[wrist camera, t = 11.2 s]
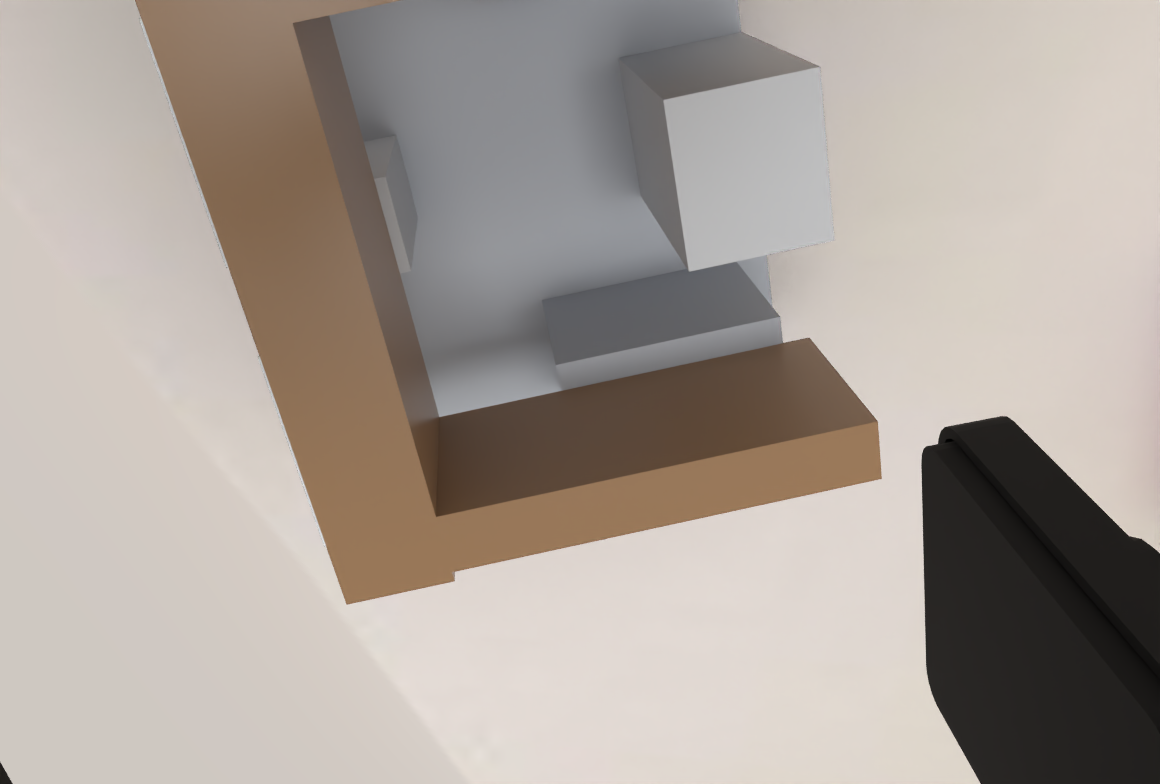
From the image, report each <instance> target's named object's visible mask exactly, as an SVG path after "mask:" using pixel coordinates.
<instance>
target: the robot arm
mask: <svg viewBox="0 0 1160 784" xmlns="http://www.w3.org/2000/svg"><path fill="white" fill-rule="evenodd" d="M922 503H923V546H924V589H925V631H926V667H927V675H928V680H929V684H930V688H931V691H932V694H933V697H934V700H935V702H936V704H937V706H938V708H939V710H940V712H941V714H942V715H943V717H944V719H945V721H946V722H947V724H948V726H949V728H950V730H951V731H952V733H953V735H954V737H955V738H956V740H957V742H958V744H959V746H960V747H961V749H962V751H963V753H964V754H965V756H966V758H967V760H968V762H969V763H970V765H971V767H972V769H973V770H974V772H975V774H976V776H977V778H978V779H979V781H980V783H981V784H1160V553H1159V552H1158V551H1156V550H1155V549H1154V548H1153V547H1152V546H1150V545H1149V544H1147V543H1146V542H1145V541H1143V540H1142V539H1139V538H1134V537H1130V536H1128V535H1127V534H1126V533H1125V532H1124V531H1123V530H1122V529H1121V528H1120V527H1119V526H1118V525H1117V524H1116V523H1115V522H1114V521H1113V520H1112V519H1111V518H1110V517H1109V516H1108V515H1107V514H1106V513H1105V512H1104V511H1103V510H1102V509H1101V508H1100V507H1099V506H1098V505H1097V504H1096V503H1095V502H1094V501H1093V500H1092V499H1091V498H1090V497H1089V496H1088V495H1087V494H1086V493H1085V492H1084V491H1083V490H1082V489H1081V488H1080V487H1079V486H1078V485H1077V484H1076V483H1075V482H1074V481H1073V480H1072V479H1071V478H1070V477H1069V476H1068V475H1067V474H1066V473H1065V472H1064V471H1063V470H1062V469H1061V468H1060V467H1059V466H1058V465H1057V464H1056V463H1055V462H1054V461H1053V460H1052V459H1051V458H1050V457H1049V456H1048V455H1047V454H1046V453H1045V452H1044V451H1043V450H1042V449H1041V448H1040V447H1039V446H1038V445H1037V444H1036V443H1035V442H1034V441H1033V440H1032V439H1031V438H1030V437H1029V436H1028V435H1027V434H1026V433H1025V432H1024V431H1023V430H1022V429H1021V428H1020V427H1019V426H1018V425H1017V424H1016V423H1015V422H1014V421H1013V420H1011V419H1010V418H1008V417H1005V416H1000V417H995V418H990V419H985V420H980V421H974V422H969V423H964V424H959V425H954V426H948V427H945V428H944V429H943V430H942V431H941V433H940V436H939V441H938V444H937V445H932V446H926V447H925V448H924V450H923V453H922ZM0 784H12V782H11V780H10V778H9V777H8V775H7V773H6V771H5V770H4V768H3V766H2V764H1V763H0Z"/></svg>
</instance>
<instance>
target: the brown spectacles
mask: <svg viewBox="0 0 1160 784" xmlns="http://www.w3.org/2000/svg"><path fill="white" fill-rule="evenodd" d="M396 1H401V0H135V2H136V4H137V7H138V10H139V13H140V16H141V18H139V21H140V24H141V27H142V29H143V32H144V35H145V38H146V41H147V44H148V46H149V49H150V52H151V55H152V58H153V61H154V64H155V66H156V69H157V72H158V75H159V78H160V81H161V84H162V86H163V89H164V92H165V95H166V98H167V101H168V103H169V106H170V109H171V112H172V115H173V118H174V121H175V123H176V126H177V129H178V132H179V135H180V138H181V140H182V143H183V146H184V149H185V152H186V155H187V158H188V160H189V163H190V166H191V169H192V172H193V175H194V177H195V180H196V183H197V186H198V189H199V192H200V195H201V197H202V200H203V203H204V206H205V209H206V212H207V214H208V217H209V220H210V223H211V226H212V229H213V232H214V234H215V237H216V240H217V243H218V246H219V249H220V251H221V254H222V257H223V260H224V263H225V266H226V268H228V267H229V270H230V273H231V276H232V279H233V281H234V284H235V287H236V290H237V293H238V296H239V299H240V301H241V304H242V307H243V310H244V313H245V316H246V319H247V321H248V324H249V327H250V330H251V333H252V336H253V339H254V341H255V344H256V347H257V350H258V353H259V356H258V360H259V362H260V365H261V368H262V371H263V374H264V377H265V380H266V382H267V385H268V388H269V391H270V394H271V397H272V399H273V402H274V405H275V408H276V411H277V414H278V417H279V419H280V422H281V425H282V428H283V431H284V434H285V436H286V439H287V442H288V445H289V448H290V451H291V454H292V456H293V459H294V462H295V465H296V468H297V471H298V473H299V476H300V479H301V482H302V485H303V488H304V491H305V493H306V496H307V499H308V502H309V505H310V508H311V510H312V513H313V516H314V519H315V522H316V525H317V528H318V530H319V533H320V536H321V539H322V542H323V545H324V547H325V546H326V547H327V550H328V553H329V556H330V558H331V561H332V564H333V567H334V570H335V573H336V576H337V578H338V581H339V584H340V587H341V590H342V593H343V595H344V598H345V601H346V604H352V603H356V602H361V601H365V600H370V599H375V598H379V597H384V596H388V595H393V594H398V593H402V592H407V591H411V590H416V589H421V588H425V587H430V586H434V585H439V584H444V583H448V582H453V581H455V571H460V570H464V569H469V568H474V567H478V566H483V565H487V564H492V563H497V562H501V561H506V560H510V559H515V558H520V557H524V556H529V555H533V554H538V553H543V552H547V551H552V550H556V549H561V548H566V547H570V546H575V545H579V544H584V543H589V542H593V541H598V540H602V539H607V538H612V537H616V536H621V535H625V534H630V533H635V532H639V531H644V530H648V529H653V528H658V527H662V526H667V525H671V524H676V523H681V522H685V521H690V520H694V519H699V518H704V517H708V516H713V515H717V514H722V513H727V512H731V511H736V510H740V509H745V508H749V507H754V506H759V505H763V504H768V503H772V502H777V501H782V500H786V499H791V498H795V497H800V496H805V495H809V494H814V493H818V492H823V491H828V490H832V489H837V488H841V487H846V486H851V485H855V484H860V483H864V482H869V481H874V480H878V479H882V477H881V462H880V447H879V433H878V421H877V420H876V419H875V417H874V416H873V415H872V414H871V413H870V411H869V410H868V409H867V408H866V406H865V405H864V404H863V403H862V402H861V400H860V399H859V398H858V397H857V395H856V394H855V393H854V392H853V391H852V389H851V388H850V387H849V386H848V384H847V383H846V382H845V381H844V380H843V378H842V377H841V376H840V375H839V373H838V372H837V371H836V370H835V369H834V367H833V366H832V365H831V364H830V362H829V361H828V360H827V359H826V358H825V356H824V355H823V354H822V353H821V351H820V350H819V349H818V348H817V347H816V345H815V344H814V343H813V342H812V340H811V339H810V338H805V339H800V340H796V341H791V342H786V343H782V344H777V345H772V346H768V347H763V348H759V349H754V350H749V351H745V352H740V353H735V354H731V355H726V356H721V357H717V358H712V359H707V360H703V361H698V362H693V363H689V364H684V365H679V366H675V367H670V368H665V369H661V370H656V371H651V372H647V373H642V374H638V375H633V376H628V377H624V378H619V379H614V380H610V381H605V382H600V383H596V384H591V385H586V386H582V387H577V388H572V389H568V390H563V391H558V392H554V393H549V394H544V395H540V396H535V397H530V398H526V399H521V400H516V401H512V402H507V403H503V404H498V405H493V406H489V407H484V408H479V409H475V410H470V411H465V412H461V413H456V414H451V415H447V416H442V417H439V414H438V410H437V406H436V403H435V399H434V395H433V392H432V388H431V385H430V381H429V377H428V374H427V370H426V366H425V363H424V359H423V355H422V352H421V348H420V345H419V341H418V337H417V334H416V330H415V326H414V323H413V319H412V316H411V312H410V308H409V305H408V301H407V297H406V294H405V290H404V286H403V283H402V279H401V276H400V272H399V268H398V265H397V261H396V257H395V254H394V250H393V246H392V243H391V239H390V236H389V232H388V228H387V225H386V221H385V217H384V214H383V210H382V206H381V203H380V199H379V196H378V192H377V188H376V185H375V181H374V177H373V174H372V170H371V167H370V163H369V159H368V156H367V152H366V148H365V145H364V141H363V137H362V134H361V130H360V127H359V123H358V119H357V116H356V112H355V108H354V105H353V101H352V97H351V94H350V90H349V87H348V83H347V79H346V76H345V72H344V68H343V65H342V61H341V58H340V54H339V50H338V47H337V43H336V39H335V36H334V32H333V28H332V25H331V21H330V18H329V15H334V14H338V13H343V12H348V11H353V10H358V9H363V8H367V7H372V6H377V5H382V4H387V3H391V2H396Z"/></svg>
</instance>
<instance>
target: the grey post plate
mask: <svg viewBox="0 0 1160 784" xmlns="http://www.w3.org/2000/svg"><path fill="white" fill-rule="evenodd" d="M329 18H330V21H331V25H332V28H333V32H334V36H335V39H336V43H337V47H338V50H339V54H340V58H341V61H342V65H343V68H344V72H345V76H346V79H347V83H348V87H349V90H350V94H351V97H352V101H353V105H354V108H355V112H356V116H357V119H358V123H359V127H360V130H361V134H362V137H363V141H364V145H365V148H366V152H367V156H368V159H369V163H370V167H371V170H372V174H373V177H374V181H375V185H376V188H377V192H378V196H379V199H380V203H381V206H382V210H383V214H384V217H385V221H386V225H387V228H388V232H389V236H390V239H391V243H392V246H393V250H394V254H395V257H396V261H397V265H398V268H399V272H400V276H401V279H402V283H403V286H404V290H405V294H406V297H407V301H408V305H409V308H410V312H411V316H412V319H413V323H414V326H415V330H416V334H417V337H418V341H419V345H420V348H421V352H422V355H423V359H424V363H425V366H426V370H427V374H428V377H429V381H430V385H431V388H432V392H433V395H434V399H435V403H436V406H437V410H438V414H439V417H442V416H447V415H451V414H456V413H461V412H465V411H470V410H475V409H479V408H484V407H489V406H493V405H498V404H503V403H507V402H512V401H516V400H521V399H526V398H530V397H535V396H540V395H544V394H549V393H554V392H558V391H563V390H568V389H572V388H577V387H582V386H586V385H591V384H596V383H600V382H605V381H610V380H614V379H619V378H624V377H628V376H633V375H638V374H642V373H647V372H651V371H656V370H661V369H665V368H670V367H675V366H679V365H684V364H689V363H693V362H698V361H703V360H707V359H712V358H717V357H721V356H726V355H731V354H735V353H740V352H745V351H749V350H754V349H759V348H763V347H768V346H772V345H777V344H782V343H783V340H782V331H781V321H780V316H779V315H778V314H777V312H776V311H775V310H774V309H773V307H772V298H771V290H770V281H769V272H768V263H767V255H769V254H774V253H779V252H783V251H788V250H793V249H797V248H802V247H807V246H811V245H816V244H821V243H825V242H830V241H835V239H834V227H833V215H832V203H831V191H830V179H829V167H828V155H827V143H826V131H825V119H824V106H823V94H822V82H821V70H820V66H817V65H815V64H813V63H811V62H808V61H806V60H804V59H801V58H799V57H797V56H795V55H792V54H790V53H788V52H786V51H783V50H781V49H779V48H776V47H774V46H772V45H770V44H767V43H765V42H763V41H761V40H758V39H756V38H754V37H752V36H749V35H747V34H745V33H742V32H741V25H740V16H739V7H738V0H401V1H396V2H391V3H387V4H382V5H377V6H372V7H367V8H363V9H358V10H353V11H348V12H343V13H338V14H334V15H329Z"/></svg>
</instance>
